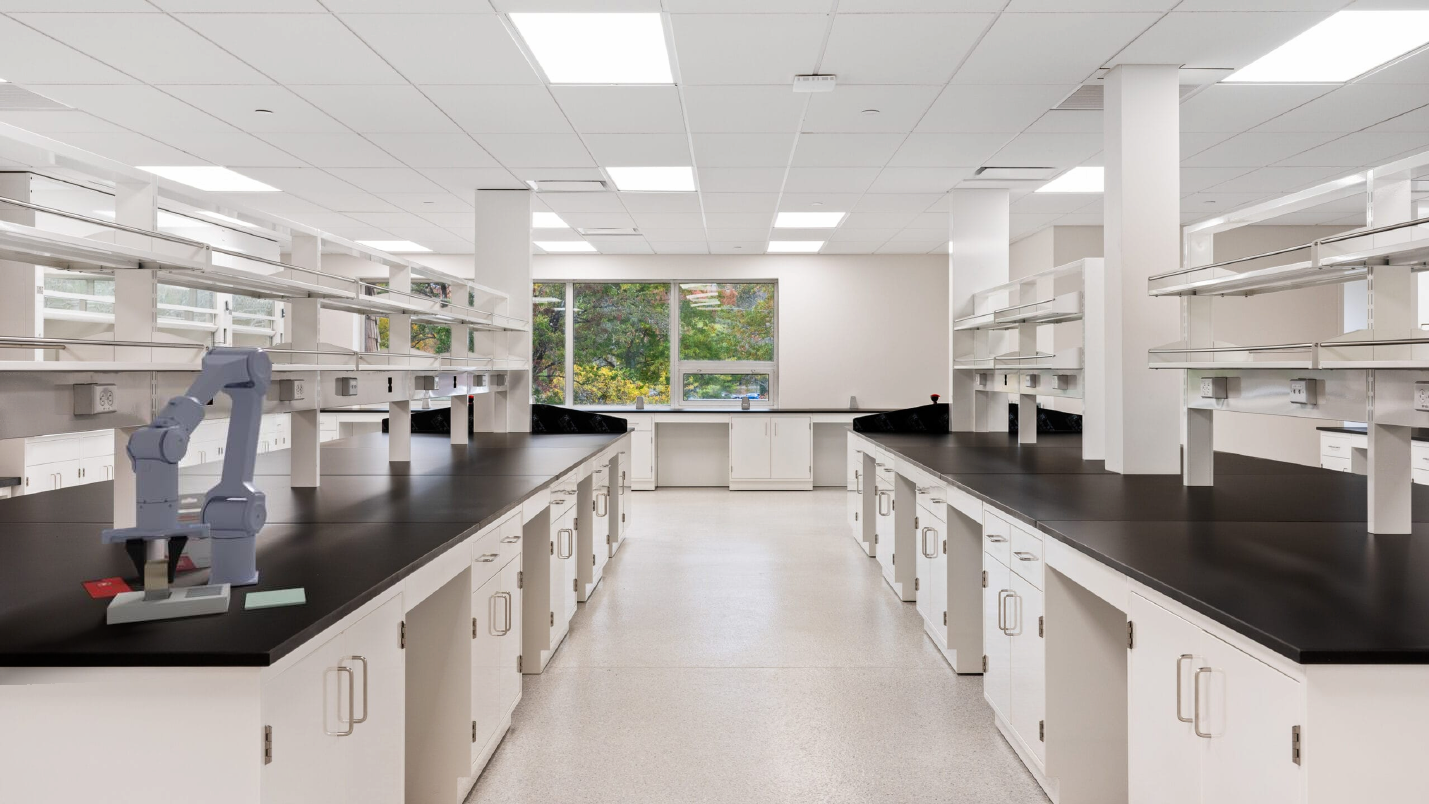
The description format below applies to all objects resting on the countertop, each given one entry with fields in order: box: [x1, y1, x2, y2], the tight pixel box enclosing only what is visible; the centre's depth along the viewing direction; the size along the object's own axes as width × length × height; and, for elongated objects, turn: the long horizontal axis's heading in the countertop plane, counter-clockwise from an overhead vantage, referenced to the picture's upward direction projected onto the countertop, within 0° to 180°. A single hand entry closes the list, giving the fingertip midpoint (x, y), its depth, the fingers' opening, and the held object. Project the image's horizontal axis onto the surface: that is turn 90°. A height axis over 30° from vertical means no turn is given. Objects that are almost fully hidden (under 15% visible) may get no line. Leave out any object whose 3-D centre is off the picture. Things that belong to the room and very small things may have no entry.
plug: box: [144, 558, 171, 601], centre depth 133 cm, size 4×3×7 cm, turn 28°
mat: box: [244, 587, 306, 611], centre depth 141 cm, size 10×9×1 cm
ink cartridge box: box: [163, 492, 211, 572], centre depth 165 cm, size 9×5×15 cm, turn 137°
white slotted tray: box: [106, 583, 231, 625], centre depth 134 cm, size 10×16×3 cm, turn 118°
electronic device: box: [81, 577, 134, 600], centre depth 148 cm, size 6×1×15 cm
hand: (157, 583), depth 133 cm, fingers closed on plug, 3 cm apart
